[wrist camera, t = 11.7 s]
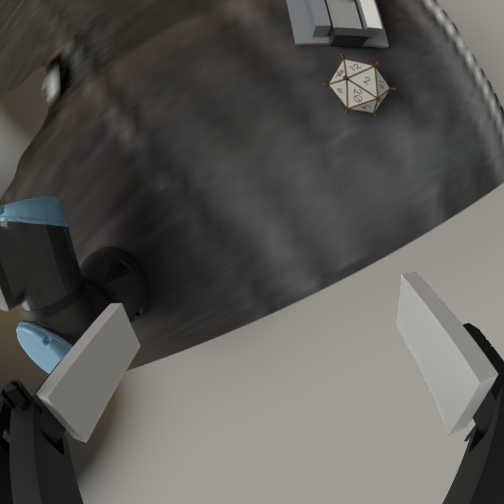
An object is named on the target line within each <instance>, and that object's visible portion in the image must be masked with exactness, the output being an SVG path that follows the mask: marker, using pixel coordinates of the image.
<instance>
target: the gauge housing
mask: <svg viewBox="0 0 504 504" xmlns="http://www.w3.org/2000/svg"><path fill="white" fill-rule="evenodd" d="M286 2H287V7H288V11H289V16H290V20H291V25H292V30H293V35H294V40H295V46H310V45H330V44H329V37H330V33H329V29H330V27H331V24H330V20H329V16H328V12H327V8H326V4H325V1H324V0H286ZM354 2H355V5H356V9H357V12H358V16H359V19H360V23H361V27H362V29H368V32H369V36H370V37H369V38H368V39H367V41H366V42H365V43H364V44H363V45H362V46H365V47H377V48H388V47H389V45H388V41H387V37H386V33H385V29H384V26H383V22H382V19H381V15H380V12H379V9H378V6H377V3H376V0H354Z"/></svg>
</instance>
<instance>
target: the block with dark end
mask: <svg viewBox="0 0 504 504" xmlns="http://www.w3.org/2000/svg"><path fill="white" fill-rule="evenodd" d="M324 1H325V4H326V8H327V12H328V16H329V20H330V24H331V27H330V29H329V33H330V37H329V44H330V46H347V47H362V45H363V44H364V43H365V42H366V41H367V39H368V38H369V37H370V36H369V32H368V29H362V27H361V23H360V19H359V16H358V12H357V9H356V5H355V2H354V0H324Z"/></svg>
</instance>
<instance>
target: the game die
mask: <svg viewBox="0 0 504 504" xmlns="http://www.w3.org/2000/svg"><path fill="white" fill-rule="evenodd" d="M340 57H341V58H342V59H343V61H342V62H341V64H340V65H339V67H338V69H337V70H336V72H335V74H334V75H333V77H332V79H331V80H330V82H329V83H324V84H322V85H323V86H326V87H327V86H329V87H330V88H331V89H332V90H333V92H334V93H335V94H336V95H337V97H338V98H339V99H340V100H341V102H342V103H343V107H346V109H345V110H344V112H345V114H346V113H348V112H349V110H356V111H362V112H369V113H373V116H374V117H375V118H376V119H377V115H376V114H375V111H376V110H377V108H378V107H379V106H380V104H381V103H382V101H383V100H384V98H385V97H386V95H387V94H388V92H389V90H393V91H394V90H396V89H395V88H394V87H389V85H388V84H387V82H386V81H385V79H384V78H383V76H382V75H381V73H380V72H379V70H378V69H377V68H376V67H378V65H379V64H378V62H375V63H374V65H373V62H369V64H367V63H363V62H358V61H354V60H349V59H345V56H344V55H343V54H341V53H340Z"/></svg>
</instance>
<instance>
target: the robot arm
mask: <svg viewBox="0 0 504 504" xmlns="http://www.w3.org/2000/svg"><path fill="white" fill-rule="evenodd" d="M68 227H69V224H68V223H67V221H66V218H65V215H64V211H63V207H62V204H61V202H60V200H59V199H58V198H56V197H54V196H44V197H38V198H32V199H27V200H22V201H18V202H14V203H10V204H6V205H2V206H0V309H3V310H5V311H9V310H11V309H12V308H14V307H16V306H17V308H18V310H19V312H20V315H21V317H22V319H23V321H21V322H20V323H19V325H18V327H17V330H16V332H17V337H18V340H19V342H20V344H21V346H22V347H23V349H24V350H25V352H26V353H27V354H28V355H29V356H30V358H31V359H32V360H33V361H34V362H35V363H37V365H39V366H40V367H41V368H42V369H43V370H45V371H46V372H47V373H49V376H47V378H46V379H45V380H44V382H43V383H42V384H41V386H40V387H39V388H38V390H37V391H36V392H35V394H34V395H33V396H32V397H31V395H30V394H29V393H28V391H27V390H26V389H25V388H24V386H23V384H22V383H21V382H20V381H19V380H13V381H10V382H8V383H7V384H6V385H5V386H4V387H3V388H2V390H1V393H0V504H83V501H82V498H81V494H80V491H79V488H78V484H77V481H76V476H75V472H74V468H73V464H72V460H71V455H70V450H69V444H68V440H67V437H66V436H65V435H64V432H65V431H66V430H67V431H68V432H69V433H70V434H71V436H72V437H73V438H75V439H78V440H81V441H83V442H87V440H88V439H89V437H90V435H91V433H92V431H93V429H94V428H95V426H96V424H97V422H98V420H99V418H100V416H101V414H102V413H103V411H104V409H105V407H106V405H107V404H108V402H109V400H110V398H111V396H112V395H113V393H114V391H115V389H116V387H117V386H118V384H119V382H120V380H121V379H122V377H123V375H124V374H125V372H126V370H127V368H128V367H129V365H130V363H131V362H132V360H133V358H134V356H135V355H136V353H137V351H138V350H139V348H140V344H139V342H138V340H137V337H136V335H135V333H134V331H133V328H132V326H131V324H130V323H131V322H133V321H135V320H137V319H138V318H139V317H140V316H141V315H142V314H143V312H144V311H145V310H146V308H147V306H148V304H149V300H150V289H149V284H148V281H147V279H146V276H145V274H144V273H143V271H142V269H141V268H140V267H139V265H138V264H137V263H136V262H135V261H134V260H133V259H132V258H131V257H130V256H128V255H127V254H125V253H124V252H122V251H120V250H117V249H114V248H101V249H98V250H96V251H95V252H93V253H92V254H90V255H89V256H88V257H87V258H86V259H85V260H84V262H83V264H82V266H81V267H80V268H79V265H78V261H77V258H76V255H75V252H74V248H73V244H72V240H71V236H70V232H69V228H68ZM396 326H397V328H398V330H399V332H400V333H401V335H402V337H403V339H404V341H405V343H406V344H407V347H408V348H409V350H410V352H411V354H412V356H413V358H414V360H415V362H416V364H417V366H418V368H419V370H420V372H421V374H422V376H423V378H424V380H425V382H426V384H427V387H428V389H429V391H430V393H431V395H432V397H433V399H434V402H435V404H436V406H437V409H438V411H439V413H440V415H441V418H442V420H443V423H444V425H445V427H446V430H447V432H448V435H450V434H452V433H454V432H457V431H459V430H462V429H464V428H466V427H467V425H468V424H469V422H470V421H471V419H472V418H473V419H474V421H475V423H476V425H475V426H474V427H473V429H472V430H471V432H470V433H469V434H468V436H467V437H466V439H465V441H468V439H469V438H470V440H469V443H468V446H467V449H466V451H465V454H464V457H463V459H462V462H461V465H460V467H459V470H458V472H457V474H456V476H455V479H454V481H453V483H452V485H451V487H450V490H449V492H448V494H447V496H446V498H445V500H444V502H443V503H442V504H504V361H503V359H502V358H501V357H500V356H499V354H498V353H497V351H496V350H495V349H494V348H493V347H491V344H490V342H489V341H488V340H486V337H485V336H484V335H483V334H482V332H480V330H479V329H478V328H476V327H475V326H473V325H471V324H470V323H467V324H464V325H462V324H461V323H460V322H459V320H458V319H457V318H456V317H455V315H454V314H453V313H452V312H451V311H450V310H449V308H448V307H447V306H446V305H445V304H444V302H443V301H442V300H441V299H440V298H439V297H438V295H437V294H436V293H435V292H434V291H433V290H432V289H431V288H430V286H429V285H428V284H427V283H426V282H425V281H424V280H423V279H422V278H421V277H420V276H419V274H418V273H417V272H413V273H406V274H402V275H401V286H400V296H399V304H398V312H397V320H396ZM3 432H4V433H5V434H6V435H7V436H8V437H9V438H10V444H9V443H8V442H7V441H6V440H5V439H4V438H3V437H2V436H3Z"/></svg>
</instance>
